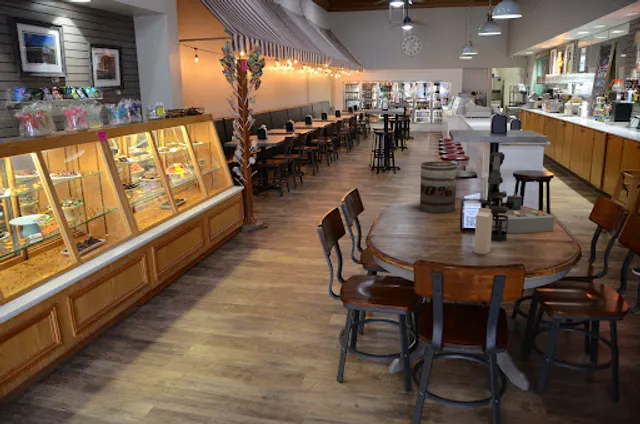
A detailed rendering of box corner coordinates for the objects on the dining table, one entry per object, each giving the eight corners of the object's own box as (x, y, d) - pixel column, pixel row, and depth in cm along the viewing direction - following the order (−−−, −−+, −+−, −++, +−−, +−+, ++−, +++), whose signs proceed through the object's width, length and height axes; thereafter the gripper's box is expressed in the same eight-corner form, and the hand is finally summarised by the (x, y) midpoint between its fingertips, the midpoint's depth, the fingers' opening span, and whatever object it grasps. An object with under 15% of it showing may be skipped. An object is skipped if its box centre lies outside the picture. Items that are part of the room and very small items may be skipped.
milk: (478, 249, 257) (480, 206, 252) (490, 251, 254) (493, 207, 248) (473, 252, 252) (476, 208, 247) (486, 254, 249) (488, 210, 244)
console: (490, 229, 290) (491, 215, 288) (544, 226, 293) (545, 213, 292) (497, 234, 282) (498, 219, 280) (553, 231, 285) (554, 217, 283)
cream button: (511, 217, 295) (512, 211, 294) (517, 216, 295) (518, 210, 294) (515, 219, 290) (516, 213, 289) (521, 218, 291) (522, 212, 290)
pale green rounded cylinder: (530, 216, 296) (530, 210, 295) (536, 216, 296) (536, 209, 295) (534, 218, 291) (534, 212, 290) (540, 218, 292) (540, 211, 291)
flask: (520, 208, 335) (521, 192, 333) (521, 210, 333) (522, 193, 330) (505, 209, 336) (506, 192, 333) (507, 210, 333) (508, 193, 330)
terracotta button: (496, 219, 290) (496, 213, 289) (502, 219, 290) (502, 213, 289) (499, 221, 285) (500, 215, 284) (506, 221, 286) (506, 215, 285)
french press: (506, 236, 277) (509, 194, 272) (510, 241, 268) (513, 198, 263) (483, 235, 279) (486, 194, 274) (486, 240, 270) (489, 198, 265)
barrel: (413, 210, 337) (414, 164, 329) (429, 203, 354) (431, 160, 346) (445, 215, 323) (447, 167, 316) (460, 208, 340) (462, 163, 333)
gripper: (481, 186, 292) (484, 209, 284) (515, 186, 290) (519, 209, 282) (477, 196, 301) (480, 219, 293) (510, 196, 300) (514, 219, 292)
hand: (498, 217), depth 290 cm, fingers closed, pressing on terracotta button
